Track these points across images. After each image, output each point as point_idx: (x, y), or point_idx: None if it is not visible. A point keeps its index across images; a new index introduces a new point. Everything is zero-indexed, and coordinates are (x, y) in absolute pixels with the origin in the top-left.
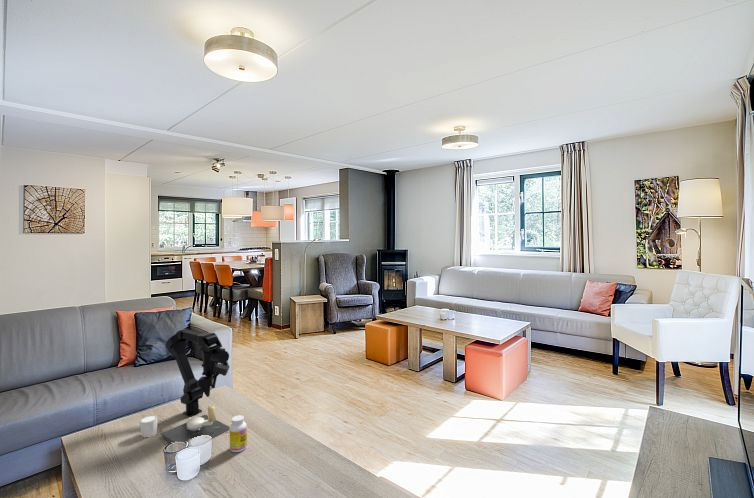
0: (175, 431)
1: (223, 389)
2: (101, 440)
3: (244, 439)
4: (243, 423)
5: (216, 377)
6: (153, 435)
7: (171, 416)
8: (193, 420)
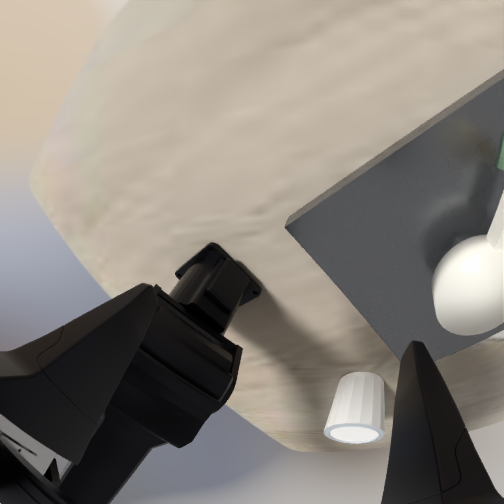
0: (423, 337)
1: (37, 182)
2: None
3: None
4: None
5: (35, 366)
6: (379, 376)
7: (241, 341)
8: (464, 310)
